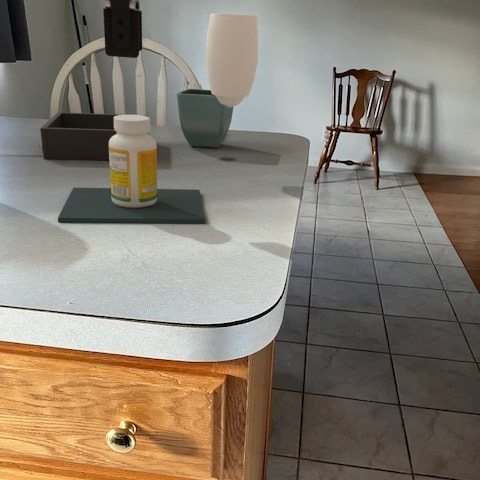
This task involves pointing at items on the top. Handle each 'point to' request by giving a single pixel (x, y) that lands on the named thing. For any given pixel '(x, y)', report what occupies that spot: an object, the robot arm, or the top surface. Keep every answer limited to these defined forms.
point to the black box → (78, 136)
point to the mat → (105, 211)
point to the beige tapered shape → (231, 56)
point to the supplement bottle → (133, 162)
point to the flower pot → (203, 117)
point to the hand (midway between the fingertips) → (125, 53)
